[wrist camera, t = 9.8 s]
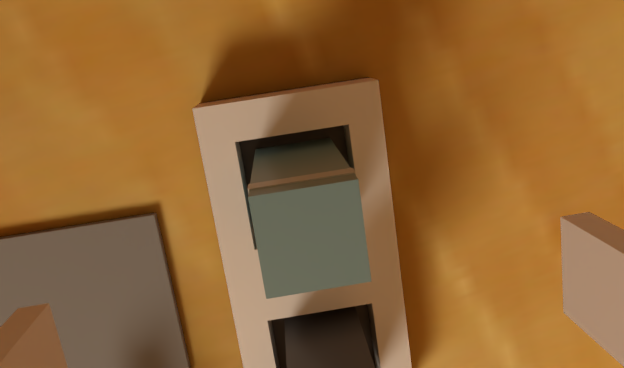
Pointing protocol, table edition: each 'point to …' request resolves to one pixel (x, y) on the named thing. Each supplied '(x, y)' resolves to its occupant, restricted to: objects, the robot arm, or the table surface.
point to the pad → (99, 291)
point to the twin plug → (326, 340)
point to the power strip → (239, 227)
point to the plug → (307, 219)
